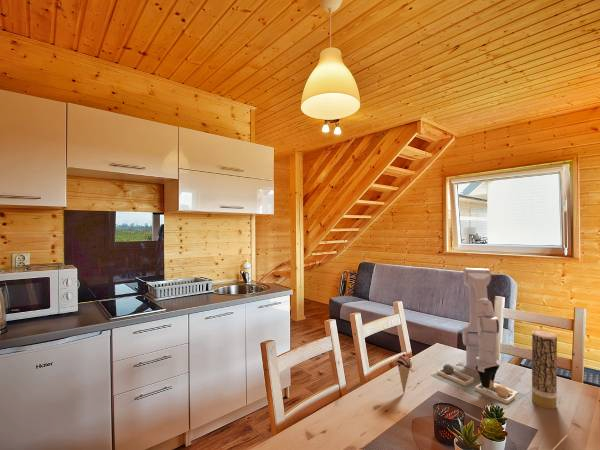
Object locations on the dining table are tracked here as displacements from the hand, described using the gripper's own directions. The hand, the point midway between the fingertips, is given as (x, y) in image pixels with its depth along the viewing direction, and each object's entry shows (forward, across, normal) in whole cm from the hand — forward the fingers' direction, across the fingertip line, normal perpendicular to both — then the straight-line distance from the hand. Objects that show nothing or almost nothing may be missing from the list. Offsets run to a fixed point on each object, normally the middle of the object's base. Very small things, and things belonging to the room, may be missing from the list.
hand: (487, 384), depth 118 cm
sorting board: (+3, -2, -5) cm, 6 cm away
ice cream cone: (+3, +25, -20) cm, 32 cm away
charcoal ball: (+2, -2, -15) cm, 16 cm away
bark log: (+3, -6, +16) cm, 17 cm away
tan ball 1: (+2, 0, 0) cm, 2 cm away
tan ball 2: (+2, +1, +5) cm, 6 cm away
